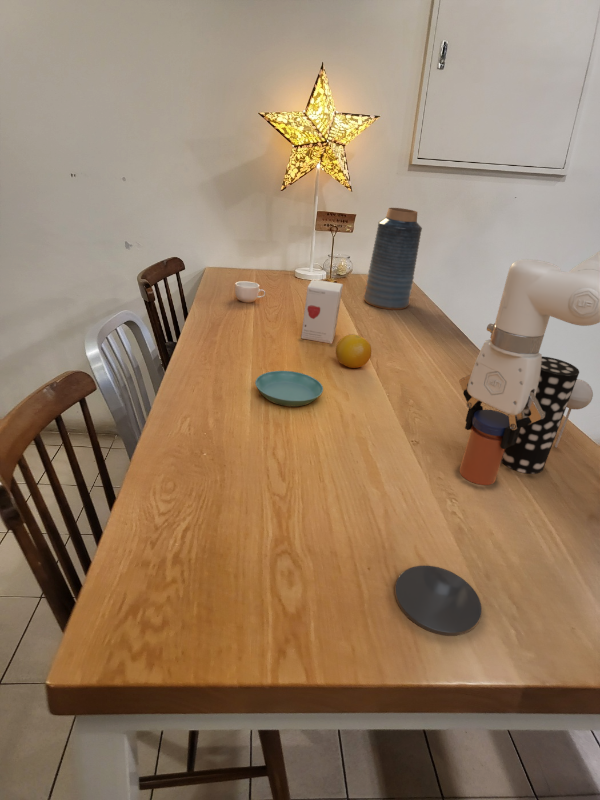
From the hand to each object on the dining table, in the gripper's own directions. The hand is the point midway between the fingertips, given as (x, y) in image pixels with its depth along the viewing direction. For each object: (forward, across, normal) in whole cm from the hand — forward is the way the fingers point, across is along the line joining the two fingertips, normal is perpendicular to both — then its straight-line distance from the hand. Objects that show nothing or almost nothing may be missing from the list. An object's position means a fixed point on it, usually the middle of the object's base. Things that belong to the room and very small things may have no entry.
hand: (488, 436), depth 94 cm
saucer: (+7, -41, -12) cm, 43 cm away
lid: (-3, 0, 0) cm, 3 cm away
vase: (+7, -84, +63) cm, 106 cm away
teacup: (+7, -102, +17) cm, 103 cm away
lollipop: (+9, +2, +24) cm, 25 cm away
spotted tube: (+8, +2, +12) cm, 14 cm away
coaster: (+8, +15, -30) cm, 34 cm away
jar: (+8, 0, 0) cm, 8 cm away
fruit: (+8, -47, +12) cm, 49 cm away
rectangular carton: (+7, -67, +18) cm, 70 cm away
